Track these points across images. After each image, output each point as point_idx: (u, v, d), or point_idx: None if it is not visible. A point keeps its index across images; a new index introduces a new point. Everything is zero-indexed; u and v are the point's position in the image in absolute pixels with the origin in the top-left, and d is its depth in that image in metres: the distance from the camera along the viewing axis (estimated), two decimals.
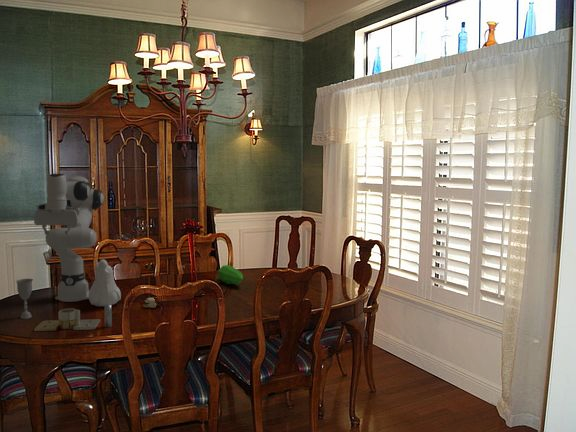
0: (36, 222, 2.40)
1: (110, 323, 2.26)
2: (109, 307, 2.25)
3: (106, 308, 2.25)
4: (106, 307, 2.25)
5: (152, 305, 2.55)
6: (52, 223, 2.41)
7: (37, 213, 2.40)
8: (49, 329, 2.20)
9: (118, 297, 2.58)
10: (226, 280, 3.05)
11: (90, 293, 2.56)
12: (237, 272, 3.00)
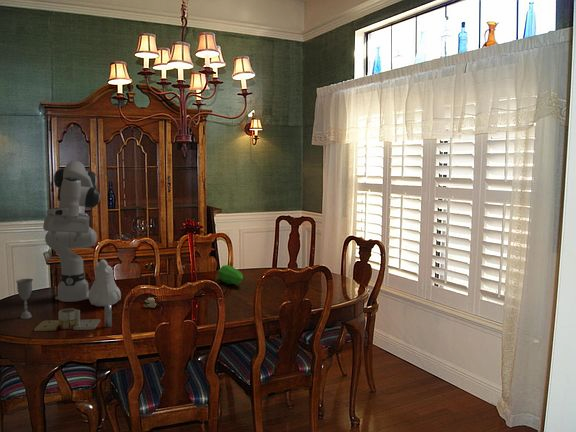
0: (49, 228, 2.22)
1: (110, 323, 2.26)
2: (109, 307, 2.25)
3: (106, 308, 2.25)
4: (106, 307, 2.25)
5: (152, 305, 2.55)
6: (65, 230, 2.27)
7: (52, 218, 2.22)
8: (49, 329, 2.20)
9: (118, 297, 2.58)
10: (226, 280, 3.05)
11: (90, 293, 2.56)
12: (237, 272, 3.00)
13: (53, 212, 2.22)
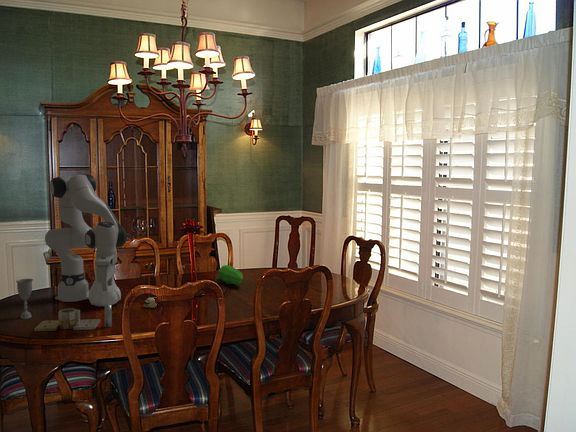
0: (106, 279, 2.16)
1: (110, 323, 2.26)
2: (109, 307, 2.25)
3: (106, 308, 2.25)
4: (106, 307, 2.25)
5: (152, 305, 2.55)
6: (110, 277, 2.23)
7: (108, 269, 2.16)
8: (49, 329, 2.20)
9: (118, 297, 2.58)
10: (226, 280, 3.05)
11: (90, 293, 2.56)
12: (237, 272, 3.00)
13: (109, 263, 2.16)
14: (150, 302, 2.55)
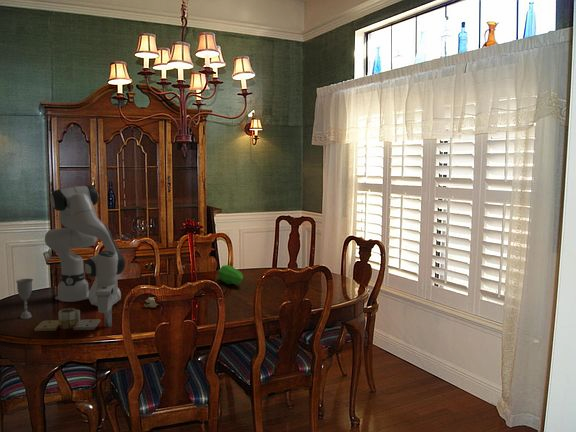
0: (107, 309, 2.18)
1: (110, 323, 2.26)
2: None
3: None
4: None
5: (153, 305, 2.55)
6: (111, 305, 2.25)
7: (108, 299, 2.18)
8: (49, 329, 2.20)
9: (118, 297, 2.58)
10: (226, 280, 3.05)
11: (90, 293, 2.56)
12: (237, 272, 3.00)
13: (110, 293, 2.18)
14: (150, 302, 2.55)
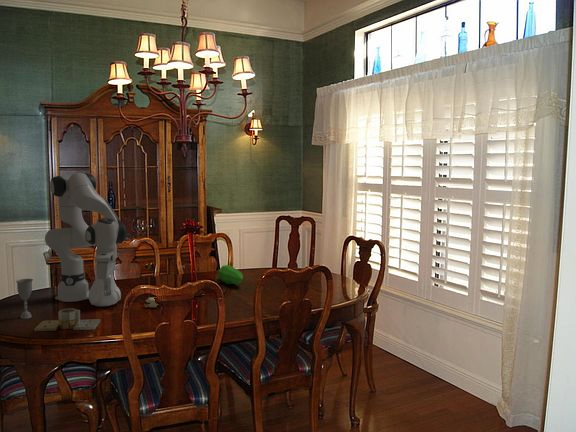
0: (107, 276, 2.16)
1: (109, 291, 2.25)
2: None
3: None
4: None
5: (153, 305, 2.55)
6: (110, 273, 2.23)
7: (108, 266, 2.16)
8: (49, 329, 2.20)
9: (118, 297, 2.58)
10: (226, 280, 3.05)
11: (90, 293, 2.56)
12: (237, 272, 3.00)
13: (109, 259, 2.16)
14: (151, 302, 2.55)
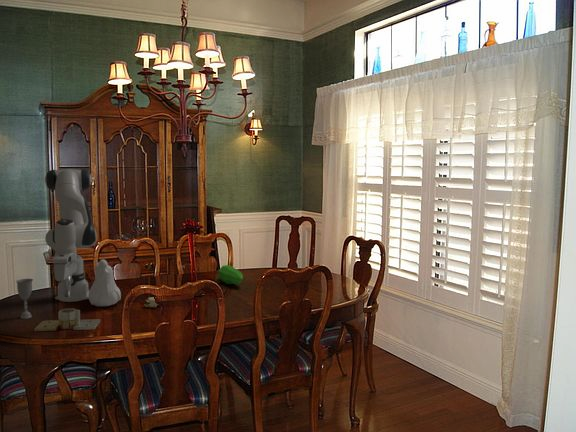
0: (64, 277, 2.15)
1: (69, 293, 2.24)
2: None
3: None
4: None
5: (153, 305, 2.56)
6: (69, 274, 2.22)
7: (66, 267, 2.15)
8: (49, 329, 2.20)
9: (118, 297, 2.58)
10: (226, 280, 3.05)
11: (90, 293, 2.56)
12: (237, 272, 3.00)
13: (67, 260, 2.15)
14: (151, 302, 2.55)
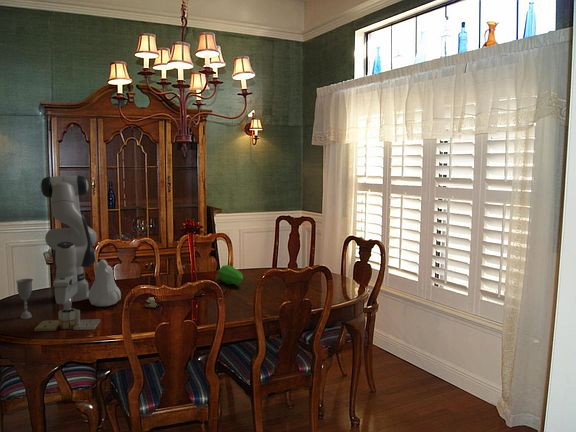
0: (65, 300, 2.16)
1: None
2: None
3: None
4: None
5: (153, 305, 2.56)
6: (70, 297, 2.24)
7: (66, 290, 2.17)
8: (49, 329, 2.20)
9: (118, 297, 2.58)
10: (226, 280, 3.05)
11: (90, 293, 2.56)
12: (237, 272, 3.00)
13: (68, 284, 2.16)
14: (151, 302, 2.55)
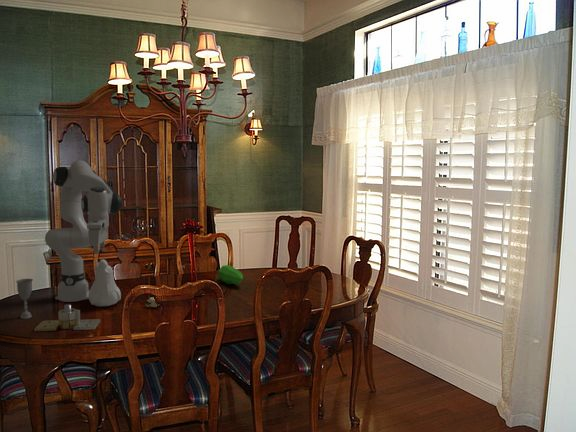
0: (98, 242, 2.22)
1: None
2: (69, 307, 2.25)
3: (65, 308, 2.24)
4: (65, 307, 2.24)
5: (154, 305, 2.56)
6: (102, 241, 2.29)
7: (99, 232, 2.22)
8: (49, 329, 2.20)
9: (118, 297, 2.58)
10: (226, 280, 3.05)
11: (90, 293, 2.56)
12: (237, 272, 3.00)
13: (101, 226, 2.22)
14: (152, 302, 2.55)
